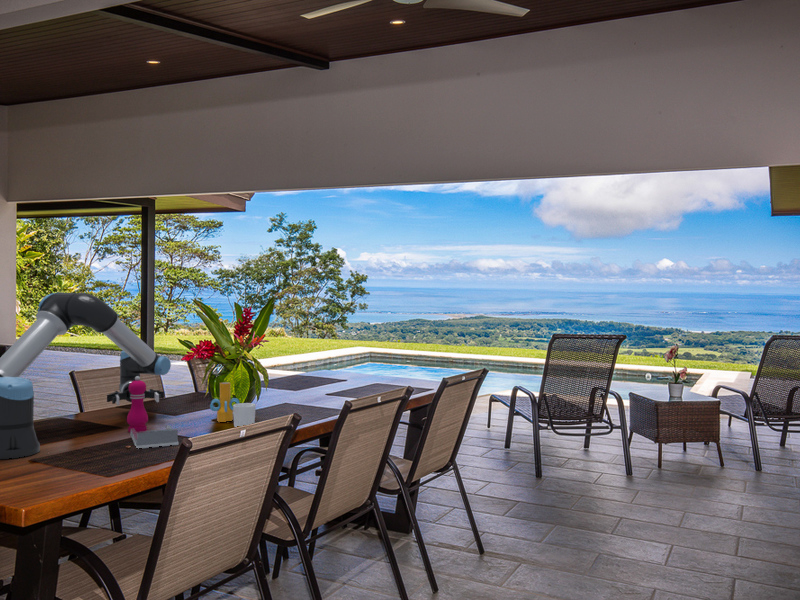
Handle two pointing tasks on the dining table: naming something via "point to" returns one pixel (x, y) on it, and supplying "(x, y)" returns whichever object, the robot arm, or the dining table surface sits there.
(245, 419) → the white cup
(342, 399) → the dining table surface
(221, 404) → the yellow post with rings
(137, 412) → the pepper mill
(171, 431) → the grey tray
